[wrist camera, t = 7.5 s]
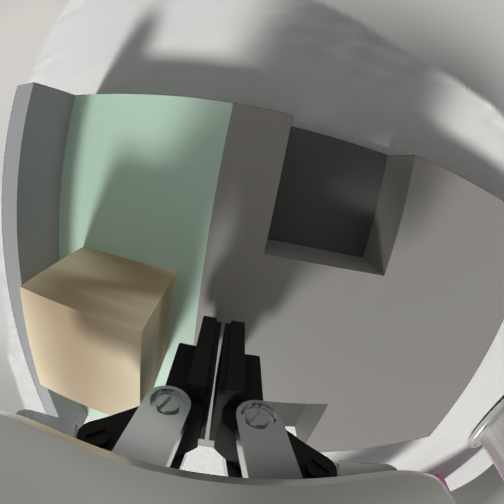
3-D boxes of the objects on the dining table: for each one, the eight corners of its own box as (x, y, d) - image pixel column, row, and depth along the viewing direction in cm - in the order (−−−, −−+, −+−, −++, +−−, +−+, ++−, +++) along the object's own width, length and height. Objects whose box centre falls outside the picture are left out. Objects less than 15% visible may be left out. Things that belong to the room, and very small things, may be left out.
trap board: (507, 213, 14) (565, 234, 8) (416, 414, 19) (441, 459, 13) (89, 105, 12) (17, 85, 6) (90, 384, 17) (59, 440, 11)
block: (176, 271, 11) (141, 331, 7) (165, 355, 12) (140, 425, 8) (83, 246, 11) (19, 286, 6) (84, 329, 12) (40, 384, 8)
